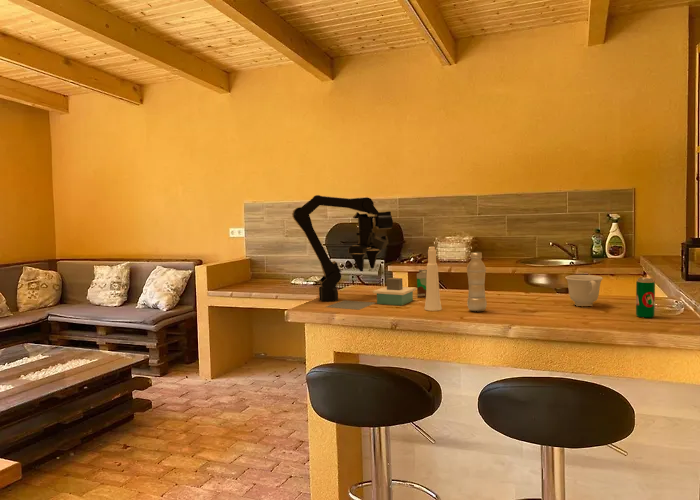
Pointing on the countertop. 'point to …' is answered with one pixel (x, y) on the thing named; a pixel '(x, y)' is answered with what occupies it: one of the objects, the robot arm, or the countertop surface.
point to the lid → (394, 287)
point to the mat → (351, 304)
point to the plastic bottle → (476, 283)
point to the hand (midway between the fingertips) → (367, 269)
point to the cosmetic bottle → (432, 283)
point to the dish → (394, 299)
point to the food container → (421, 283)
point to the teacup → (583, 289)
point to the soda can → (645, 297)
